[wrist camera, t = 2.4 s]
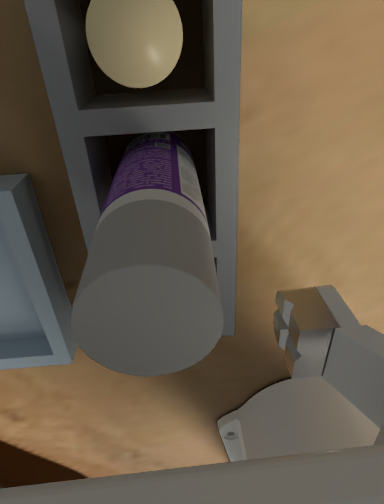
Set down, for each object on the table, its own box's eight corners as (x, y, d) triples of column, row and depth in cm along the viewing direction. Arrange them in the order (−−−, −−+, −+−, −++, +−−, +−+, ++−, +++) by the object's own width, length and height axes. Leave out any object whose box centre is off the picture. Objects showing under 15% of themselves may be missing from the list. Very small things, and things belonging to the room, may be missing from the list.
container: (113, 183, 23) (50, 361, 10) (135, 115, 21) (87, 236, 8) (178, 206, 24) (191, 391, 12) (205, 144, 22) (256, 289, 9)
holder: (224, 291, 29) (239, 357, 23) (119, 299, 28) (107, 368, 23) (224, -67, 17) (256, -123, 11) (43, -58, 16) (-26, -110, 11)
